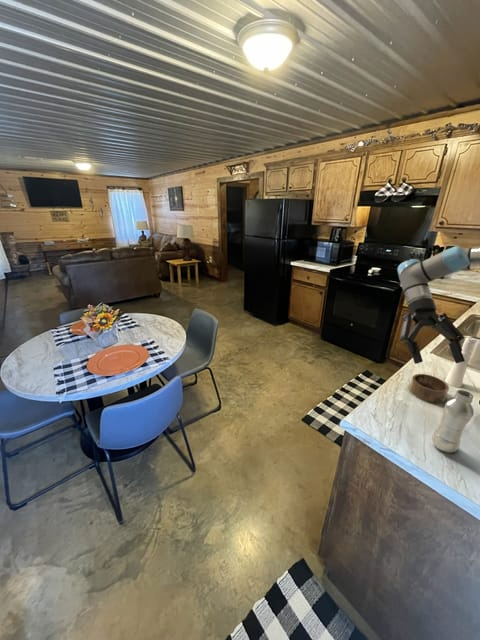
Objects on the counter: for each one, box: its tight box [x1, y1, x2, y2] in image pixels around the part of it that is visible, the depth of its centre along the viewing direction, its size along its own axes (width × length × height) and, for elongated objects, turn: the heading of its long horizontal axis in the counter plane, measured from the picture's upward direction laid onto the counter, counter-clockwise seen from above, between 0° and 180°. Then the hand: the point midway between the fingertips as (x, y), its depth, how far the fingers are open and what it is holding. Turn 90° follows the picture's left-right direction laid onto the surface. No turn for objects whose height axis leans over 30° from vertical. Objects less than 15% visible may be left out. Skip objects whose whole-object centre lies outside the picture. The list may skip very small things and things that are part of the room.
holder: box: [409, 373, 450, 404], centre depth 102 cm, size 12×12×6 cm
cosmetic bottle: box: [444, 336, 475, 388], centre depth 106 cm, size 6×6×22 cm
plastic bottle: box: [431, 389, 475, 454], centre depth 77 cm, size 6×7×20 cm
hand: (439, 362), depth 82 cm, fingers open, 13 cm apart
